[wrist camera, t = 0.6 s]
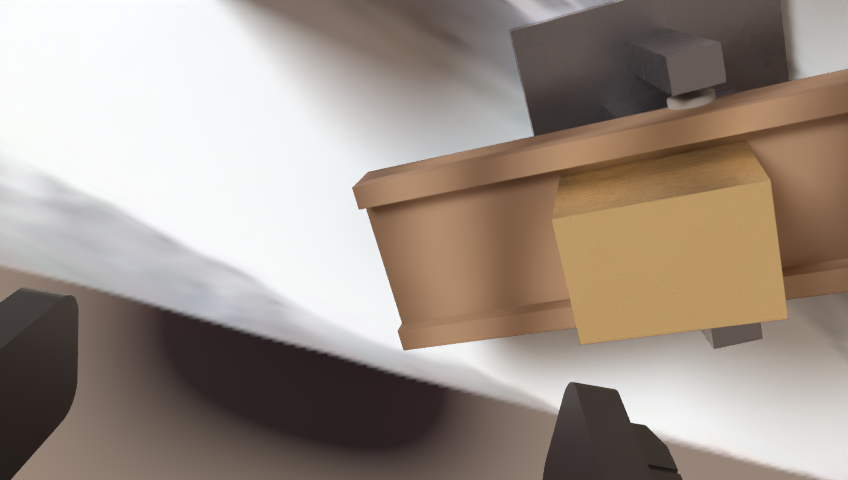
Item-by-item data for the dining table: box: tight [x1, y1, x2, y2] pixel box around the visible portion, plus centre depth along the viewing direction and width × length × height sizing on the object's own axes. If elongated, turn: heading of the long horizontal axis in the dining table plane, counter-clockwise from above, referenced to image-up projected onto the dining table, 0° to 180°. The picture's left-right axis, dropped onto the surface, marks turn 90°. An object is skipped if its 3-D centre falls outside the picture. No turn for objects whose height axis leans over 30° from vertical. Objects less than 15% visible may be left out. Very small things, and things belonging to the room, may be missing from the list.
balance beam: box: [352, 69, 848, 350], centre depth 31 cm, size 28×9×5 cm, turn 105°
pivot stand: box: [509, 0, 789, 349], centre depth 33 cm, size 12×16×8 cm
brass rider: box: [552, 140, 788, 345], centre depth 27 cm, size 7×5×5 cm
